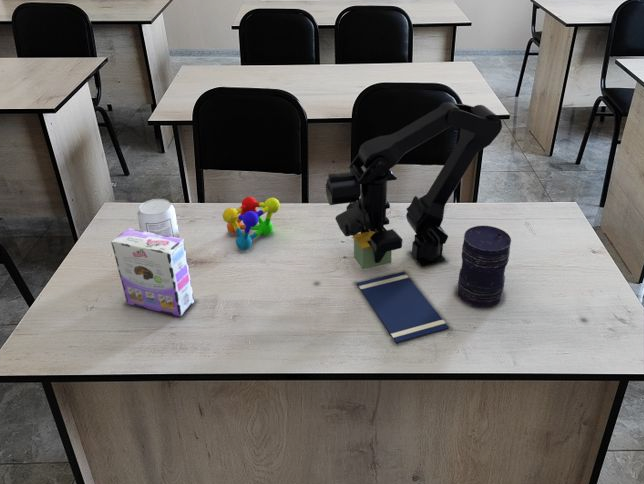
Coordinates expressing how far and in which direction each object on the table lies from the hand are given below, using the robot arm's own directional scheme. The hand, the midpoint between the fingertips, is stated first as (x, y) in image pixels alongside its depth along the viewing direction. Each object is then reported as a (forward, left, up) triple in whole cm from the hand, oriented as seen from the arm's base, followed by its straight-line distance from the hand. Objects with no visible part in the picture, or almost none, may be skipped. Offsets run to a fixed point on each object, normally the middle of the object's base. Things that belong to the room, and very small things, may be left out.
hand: (372, 255), depth 141 cm
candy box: (+48, -5, -3) cm, 48 cm away
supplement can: (+45, -21, -3) cm, 50 cm away
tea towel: (0, +15, -3) cm, 16 cm away
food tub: (0, 0, -1) cm, 1 cm away
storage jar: (-18, +18, -3) cm, 26 cm away
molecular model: (+24, -22, -3) cm, 32 cm away
